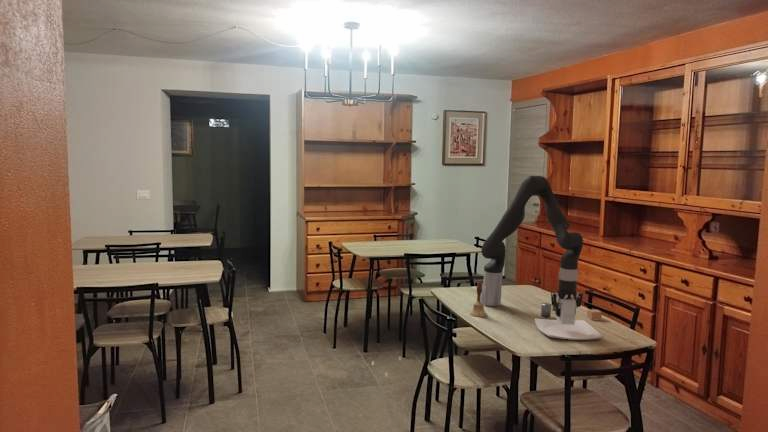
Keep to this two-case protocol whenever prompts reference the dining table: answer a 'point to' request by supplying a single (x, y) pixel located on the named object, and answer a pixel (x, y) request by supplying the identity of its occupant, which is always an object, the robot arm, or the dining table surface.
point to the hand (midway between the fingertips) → (565, 316)
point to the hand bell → (478, 304)
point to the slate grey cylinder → (546, 310)
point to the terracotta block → (594, 314)
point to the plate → (567, 330)
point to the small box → (567, 312)
